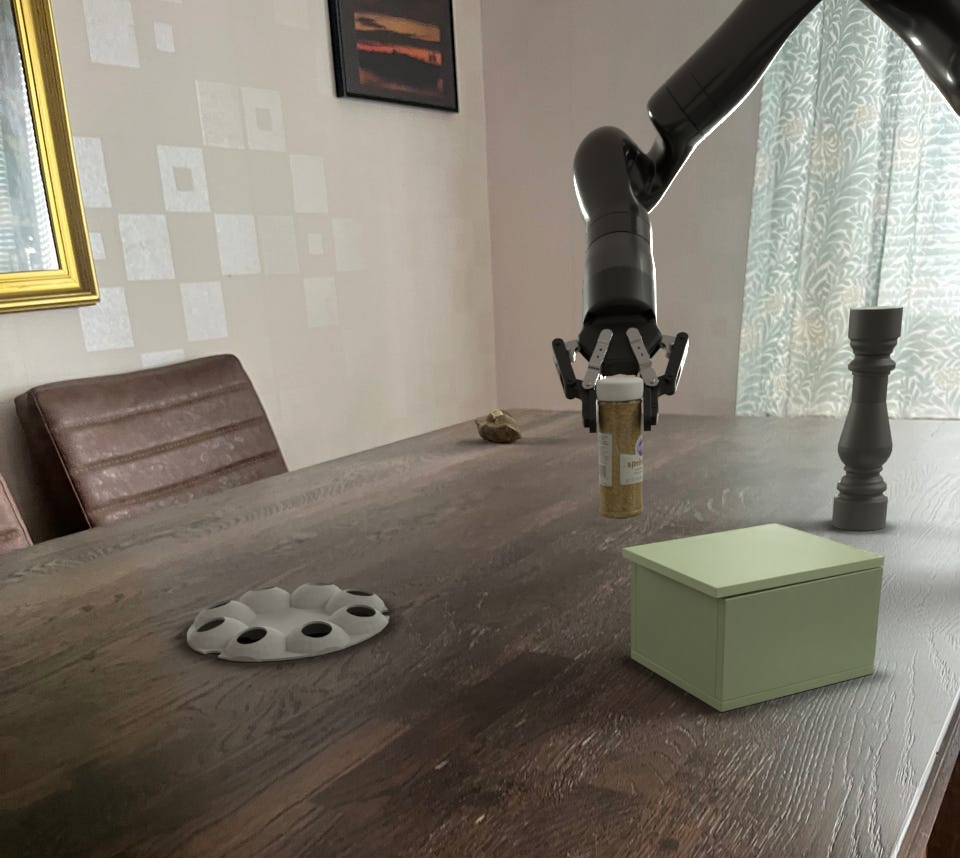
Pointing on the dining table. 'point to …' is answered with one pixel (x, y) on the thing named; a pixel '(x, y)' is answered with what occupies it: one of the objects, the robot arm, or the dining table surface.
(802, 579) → the lid
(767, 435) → the dining table surface
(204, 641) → the round palette
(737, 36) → the robot arm
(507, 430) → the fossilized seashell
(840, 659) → the chest
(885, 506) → the candle holder
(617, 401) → the sprinkles bottle
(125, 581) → the dining table surface
